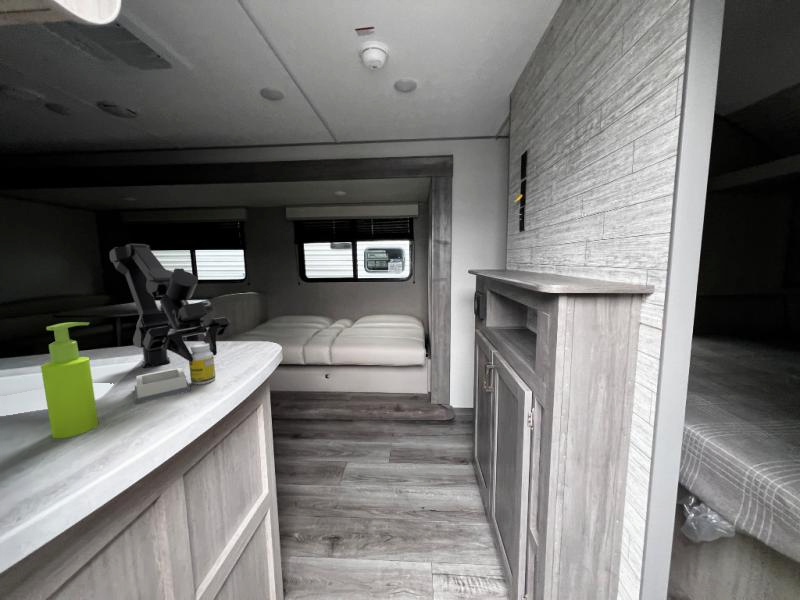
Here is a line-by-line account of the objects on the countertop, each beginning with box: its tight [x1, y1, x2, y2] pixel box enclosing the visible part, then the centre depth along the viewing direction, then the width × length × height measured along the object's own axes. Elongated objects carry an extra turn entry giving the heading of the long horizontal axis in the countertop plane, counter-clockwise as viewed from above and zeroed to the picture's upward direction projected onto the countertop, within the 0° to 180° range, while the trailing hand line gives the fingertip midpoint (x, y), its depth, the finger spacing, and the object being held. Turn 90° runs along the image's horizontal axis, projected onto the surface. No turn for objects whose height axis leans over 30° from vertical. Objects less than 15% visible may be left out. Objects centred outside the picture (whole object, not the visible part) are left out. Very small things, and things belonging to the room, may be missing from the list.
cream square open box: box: [134, 367, 191, 404], centre depth 73 cm, size 10×10×4 cm
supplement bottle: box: [188, 342, 216, 385], centre depth 78 cm, size 5×5×10 cm
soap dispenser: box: [40, 321, 99, 439], centre depth 56 cm, size 6×7×20 cm
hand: (204, 357), depth 78 cm, fingers closed on supplement bottle, 5 cm apart
